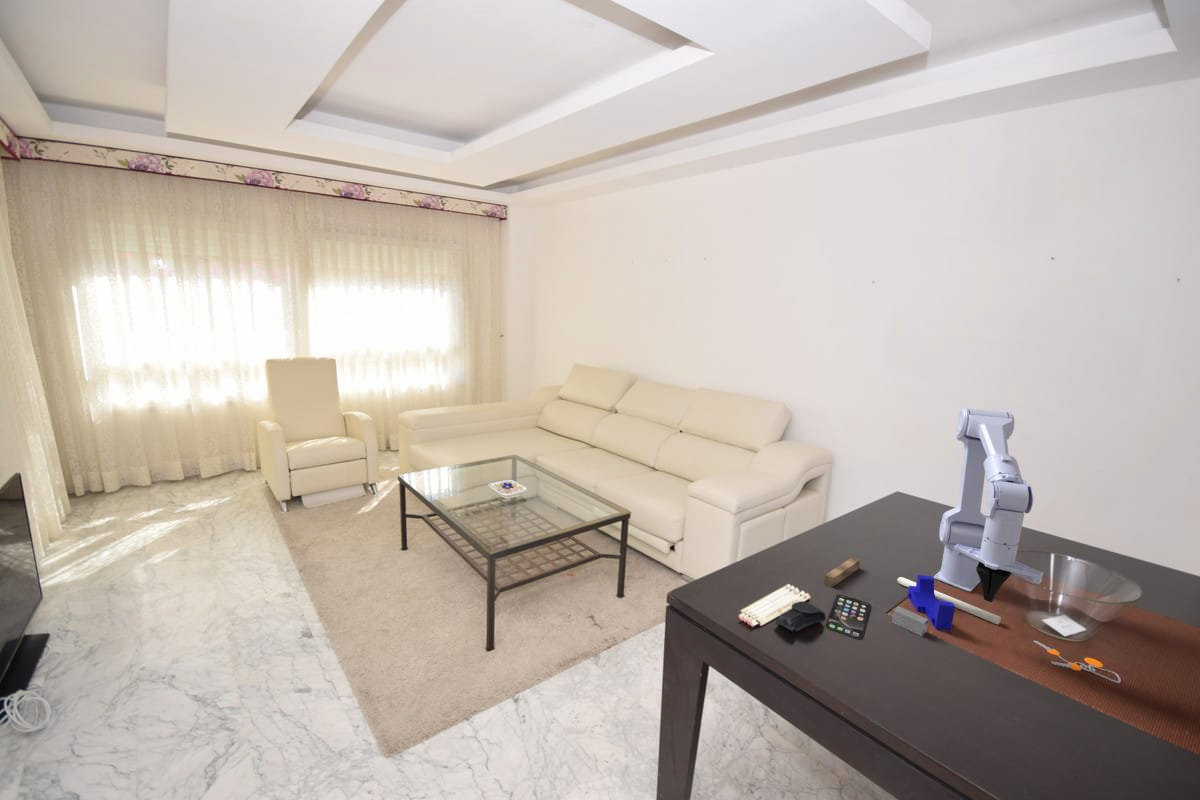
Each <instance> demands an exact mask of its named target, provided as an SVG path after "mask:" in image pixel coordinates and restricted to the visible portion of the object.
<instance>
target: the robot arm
mask: <svg viewBox="0 0 1200 800" xmlns="http://www.w3.org/2000/svg"><path fill="white" fill-rule="evenodd" d="M1014 429H1015V417H1014V415H1013V414H1012V412H1011V411H998V410H988V409H987V410H985V409H974V408H967V407H964V408H962V409H961V410H960V411H959V413H958V417H957V424H956V431H955V435H956V440H957V441H961V442H962V444H963V458H962V465H961V466H962V467H961V475H960V482H959V489H958V492H959V493H958V498H957V499H958V500H957V506H955V507H954V508H952V509H949V510H946V511H945V512H943V514H942V518H941V521H940V524H939V531H938V532H939V540H940V542H941V543H942V545H944V550H943V555H942V559H941V560H942V561H941V567H940V570H939V571H938V572H937V573H936V574H935V575H934V576H933V579H934V580H938V581H940V582H941V583H945V584H948V585H951V586H953V587H956V588H958V589H961V590H964V591H965V592H969V593H970V592H972V591H973V589H974V590H975V588H976V586H978V585H979V583H981V587H982V592H983V594H982V595H983V600H984V601H986V602H990V603H993V602H994V601H995V599H996V596H997V594H998V591H999V590H1000V588H1001V587H1002V585H1003V584H1004V583H1005V582H1006V581H1007V580H1008V579H1009V578H1010V577H1011V576H1012V575H1015V576H1018V577H1020V578H1023V579H1027V580H1028V581H1031V582H1032V583H1034V584H1036V585H1040V584H1041V583H1042V581H1043V576H1044V572H1043V571H1040V570H1038V569H1035V568H1033V567H1030V566H1028V565H1025V564H1024V563H1022V562H1020V561H1017V560H1016V558H1017V557H1016V556H1017V553H1018V548H1019V542H1020V539H1021V538H1020V537H1021V532H1022V530H1023V529H1022V528H1023V525H1024V524H1023V523H1024V518H1025V514H1029V513H1030V512H1031V510H1032V509H1033V504H1034V492H1033V491H1034V490H1033V487H1032V485H1031V484H1030V483H1028V482H1027V480H1024V479H1023V477H1022V475H1021V471H1020V468H1019V463H1018V460H1017V459H1016V458H1015V457H1014V456H1012V455H1010V454H1009V447H1008V440H1009V439H1010V437H1011V436H1012V435H1013V433H1014ZM985 478H986V481H987V487H986V491H985V507H984V509H985V514H986V515H984V514H983V513H982V512H981V510H982V502H983V493H984V484H985Z"/></svg>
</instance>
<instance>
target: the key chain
mask: <svg viewBox="0 0 1200 800" xmlns="http://www.w3.org/2000/svg"><path fill="white" fill-rule="evenodd" d="M1033 642H1034V643H1035V644H1037V645H1039V646H1041V647H1042V648H1044V649H1045V650H1046V652H1048V653H1049V654H1050V655H1053V656H1058V658H1060V659H1061V660H1062V661H1064V662H1065V663H1063V662H1059V661H1058V662H1057V661H1051V663H1052V665H1054V666H1059V667H1062V668H1065V667H1066V668H1067V669H1072V670H1073V671H1075V672H1078V671H1079V672H1080V671H1082V670H1084V671H1085V672H1090V673H1091V674H1094V675H1096V676H1099V677H1101V678H1102V679H1103V678H1104V679H1105V680H1109V681H1110V682H1113V683H1117V684H1121V682H1122V679H1121V677H1120V675H1119V674H1118V673H1116V672H1114V671H1110V670H1107V669H1104V668H1103V667H1104V665H1103V663H1102V662H1101V661H1099V660H1097V659H1095V658H1092V657H1084V658H1083V660H1084V661H1085V662H1086V663H1087V664H1088V665H1086V664H1084V663H1082V662H1077V661H1076V662H1070V661H1069V660H1068V661H1067V660H1066V659H1064V658H1063V657H1061V655H1060V654H1061V653H1060V651H1058V650H1057V649H1055V648H1051V647H1049V646H1046V645H1045V644H1043V643H1042V642H1040V641H1039V640H1033ZM1096 669H1099V670H1101V671H1104V672H1107V673H1110V674H1113V675H1115V676H1116V677H1117V680H1115V679H1113V678H1112V679H1111V678H1110V677H1107V676H1105V675H1102V674H1100V673H1098V672H1096Z"/></svg>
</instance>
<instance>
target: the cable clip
mask: <svg viewBox="0 0 1200 800" xmlns="http://www.w3.org/2000/svg"><path fill="white" fill-rule="evenodd" d="M907 590H908V591H907V598H908V599H909V601H910V602H911V604H912V606H913V607H914V608H915V610H916V612H920V613H924V614H925V616H927V617H926V618H927V619H928V621H930V623H931V625H932V626H933V627H934V629H935V630H942V631H948V632H949V631H952V626H953V621H954V617H955V615H954V614H955V609H956V607H955V606H954V604H953V603H952V602H943V601H940V600H937V599H936V598H935V593H934V590H935V578H934V576H931V575H922V574H917V576H916V586H909V588H908V589H907Z"/></svg>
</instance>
